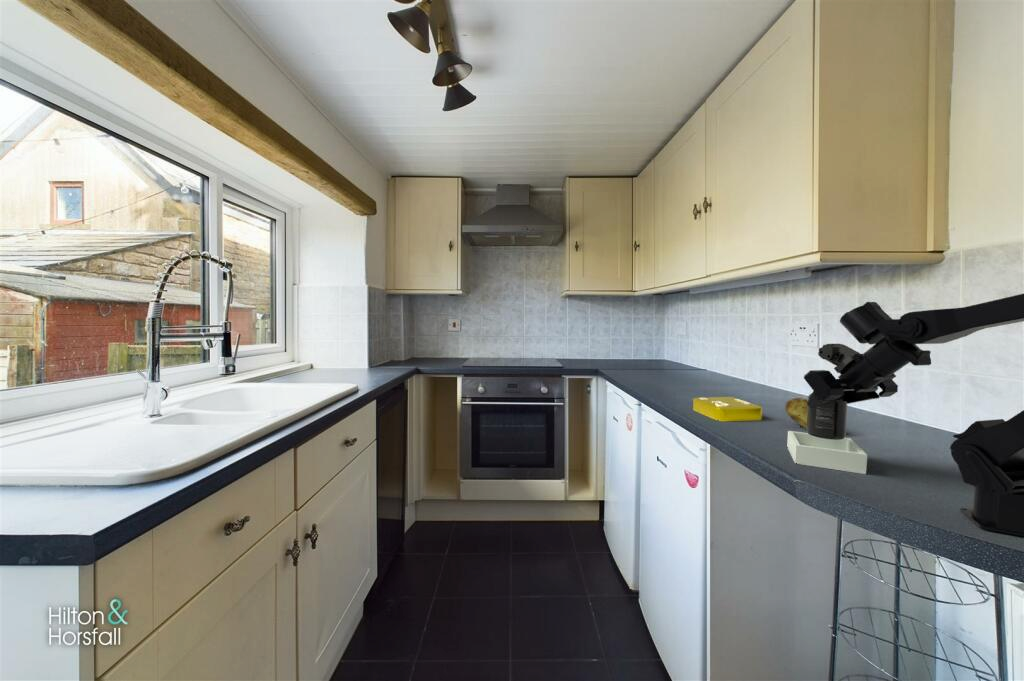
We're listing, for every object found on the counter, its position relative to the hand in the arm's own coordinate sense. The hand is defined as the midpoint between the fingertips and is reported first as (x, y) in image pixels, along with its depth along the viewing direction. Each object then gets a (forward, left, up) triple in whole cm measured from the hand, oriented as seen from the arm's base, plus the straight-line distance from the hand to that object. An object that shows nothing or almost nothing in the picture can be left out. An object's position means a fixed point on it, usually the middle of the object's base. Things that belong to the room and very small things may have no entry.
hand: (821, 405), depth 88 cm
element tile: (+32, +18, -13) cm, 39 cm away
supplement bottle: (-1, -1, -7) cm, 7 cm away
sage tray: (-1, -1, -12) cm, 12 cm away
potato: (+26, -3, -12) cm, 29 cm away
